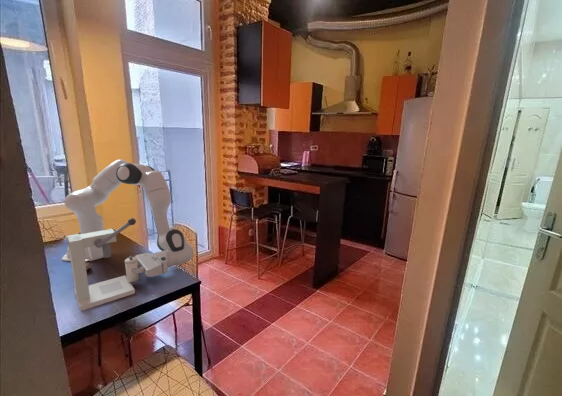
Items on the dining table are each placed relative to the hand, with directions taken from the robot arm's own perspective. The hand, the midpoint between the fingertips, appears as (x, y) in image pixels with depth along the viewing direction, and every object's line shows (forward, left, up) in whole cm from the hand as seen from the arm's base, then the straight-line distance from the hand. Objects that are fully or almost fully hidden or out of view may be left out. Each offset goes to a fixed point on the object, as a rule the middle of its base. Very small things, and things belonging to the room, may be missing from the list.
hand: (129, 268), depth 130 cm
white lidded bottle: (+1, +1, -6) cm, 6 cm away
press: (-7, -5, -8) cm, 12 cm away
